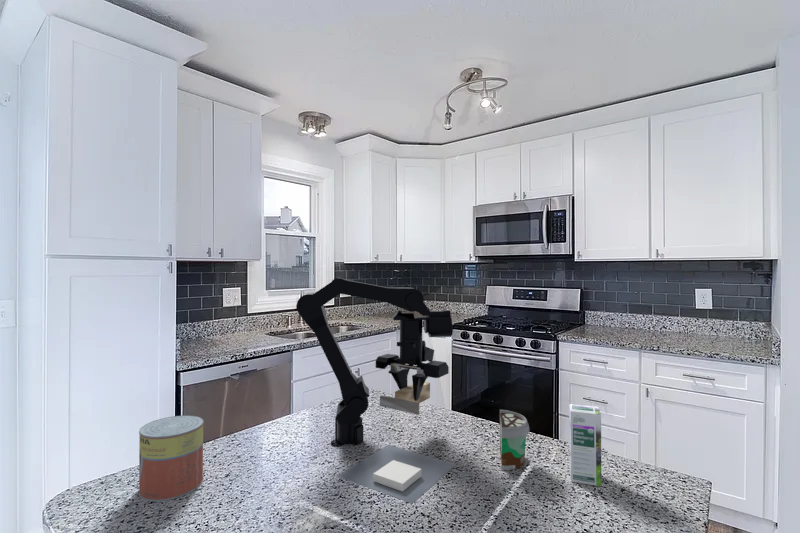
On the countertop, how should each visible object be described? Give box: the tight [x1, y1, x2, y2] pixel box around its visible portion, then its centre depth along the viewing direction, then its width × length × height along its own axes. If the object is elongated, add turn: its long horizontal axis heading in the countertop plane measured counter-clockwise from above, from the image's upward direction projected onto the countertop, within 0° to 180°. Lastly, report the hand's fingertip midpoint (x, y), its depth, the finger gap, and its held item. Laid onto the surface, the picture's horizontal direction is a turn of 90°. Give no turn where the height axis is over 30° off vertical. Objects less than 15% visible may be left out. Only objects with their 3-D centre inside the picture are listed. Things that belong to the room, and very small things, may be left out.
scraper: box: [379, 381, 431, 415], centre depth 105 cm, size 13×11×4 cm
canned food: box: [138, 414, 205, 502], centre depth 82 cm, size 11×11×12 cm
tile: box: [373, 460, 421, 492], centre depth 83 cm, size 7×2×7 cm
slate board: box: [337, 444, 457, 505], centre depth 87 cm, size 18×18×1 cm
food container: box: [499, 409, 530, 471], centre depth 91 cm, size 12×6×10 cm, turn 168°
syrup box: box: [568, 403, 603, 488], centre depth 85 cm, size 6×6×14 cm
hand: (410, 399), depth 104 cm, fingers closed on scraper, 3 cm apart
